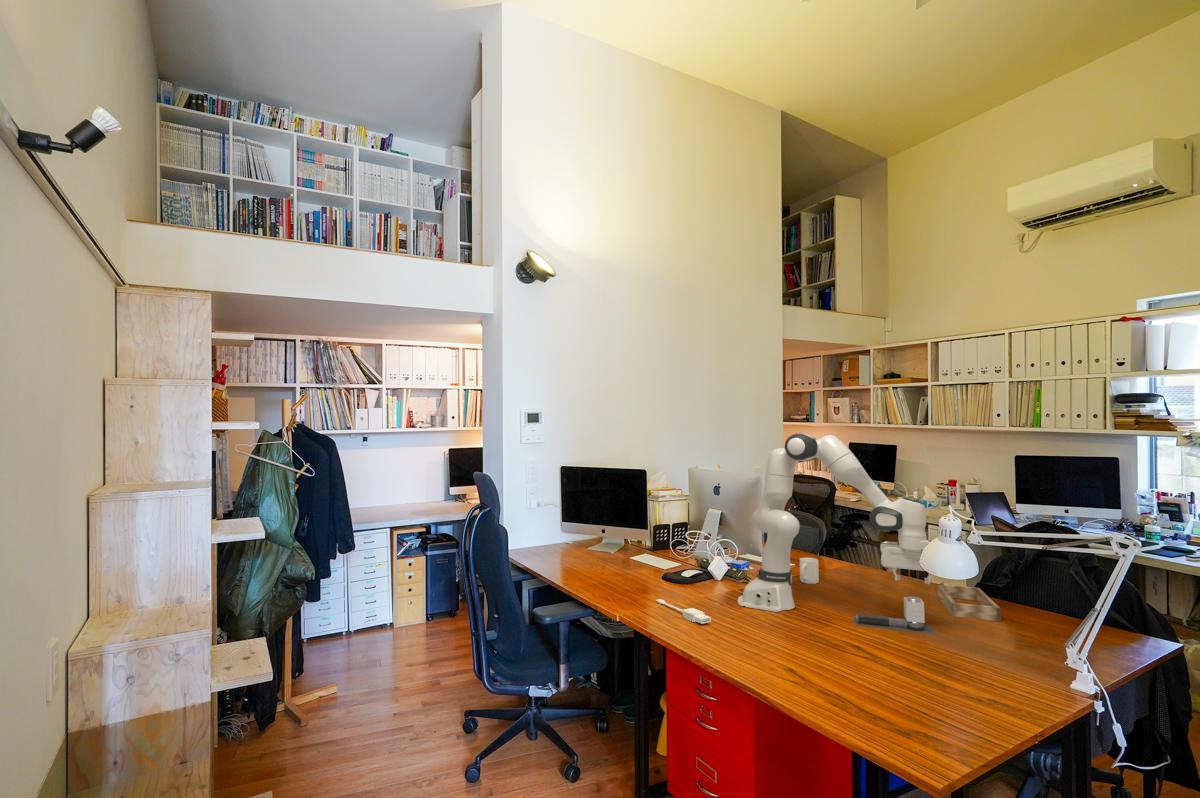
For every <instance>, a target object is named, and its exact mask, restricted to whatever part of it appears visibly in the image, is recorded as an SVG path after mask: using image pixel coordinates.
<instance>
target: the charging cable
mask: <svg viewBox="0 0 1200 798" xmlns="http://www.w3.org/2000/svg"><path fill="white" fill-rule="evenodd" d="M656 601H657V602H659V603H662V604H665V605H664V606H666V605H667V607H669V608H672V609H674V610H677V611H679V612H681V613H682V618H683V617H685V618H686V619H685V620H687V619H688V620H687V621H689V620H690V621H689V622H691V621H692V622H691V623H693V622H698V623H699V624H707V623H711V622H712V617H711V616H708V615H706V614H705V611H702V610H699V609H696V608H694V607H690V608H685V609H681V608H679V607H677V606H674V605H672V604H669V603H667V602H666V601H665V600H664V599H662V598H658V599H656ZM656 601H655V602H656Z"/></svg>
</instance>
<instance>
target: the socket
mask: <svg viewBox="0 0 1200 798" xmlns="http://www.w3.org/2000/svg"><path fill="white" fill-rule="evenodd" d="M903 615H904V619H906V621H910V622H919V623H924V624H925V623H926V622H925V602H924V601H923V599H922V598H920V597H917V596H914V595H913V596H911V595H910V596H903Z"/></svg>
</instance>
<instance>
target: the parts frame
mask: <svg viewBox="0 0 1200 798" xmlns="http://www.w3.org/2000/svg"><path fill="white" fill-rule="evenodd" d="M936 596H937V597H938V599H939V600H940V601H941V603H942V604H943V606H945V608H946V609H947V610H948V612H949V613H950V614H951V616H953V617H958V618H959V617H961V618H971V619H980V620H984V621H993V622H1000V623H1001V622H1002V613H1001V612H1002V608H1001V607H1000V606H999V605H998V604H997V603H996V602H994V601H993V599H992V598H991V597H990V596H989V595H988V594H986V593H985V592H984V591H983V590H982V589H981V588H980V587H976V586H964V585H963V586H962V585H951V584H940V583H938V584H936ZM954 599H958V600H970V601H971V600H972V601H977V603H979V605H978V604H971V603H970V604H969V603H959V602H955V600H954Z"/></svg>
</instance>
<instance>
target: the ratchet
mask: <svg viewBox="0 0 1200 798" xmlns="http://www.w3.org/2000/svg"><path fill="white" fill-rule="evenodd" d="M855 615H856V616H855V618H856V621H857V623H859V624H867V625H876V626H886V627H897V628H906V629H909V630H913V631H923V630H924V625H925V623H919V622H910V621H906V619H905V618H900V617H899V618H898V617H897V618H896V617H888V616H887V615H886V616H885V615H884V616H883V615H877V614H866V613H856V614H855Z"/></svg>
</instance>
